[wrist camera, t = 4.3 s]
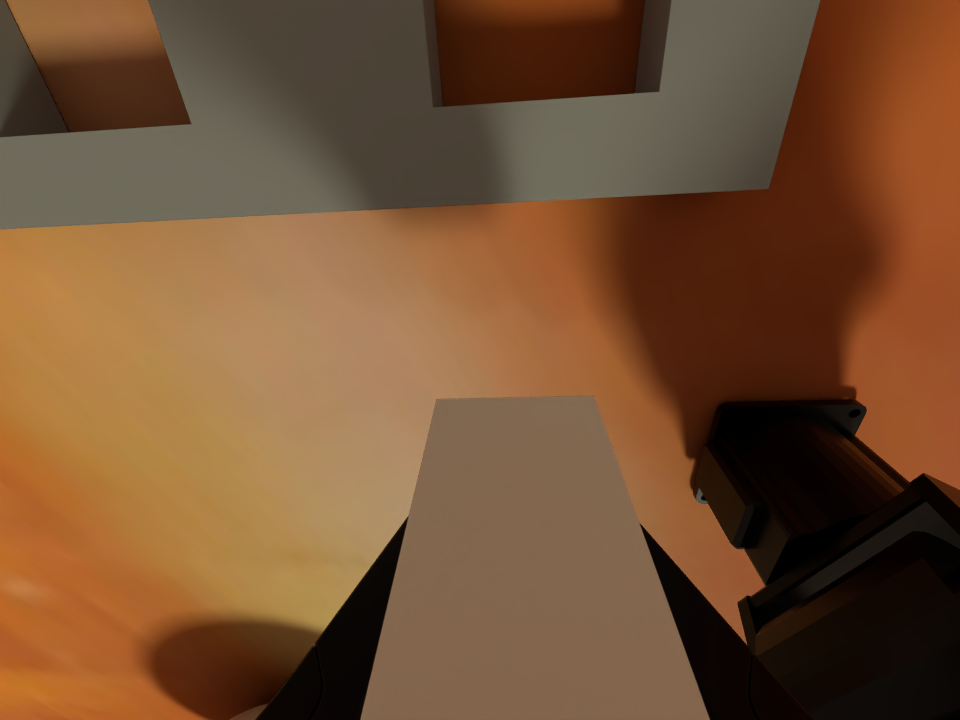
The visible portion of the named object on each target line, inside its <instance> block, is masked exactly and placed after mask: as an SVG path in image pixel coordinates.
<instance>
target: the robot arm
mask: <svg viewBox="0 0 960 720" xmlns="http://www.w3.org/2000/svg"><path fill="white" fill-rule="evenodd" d="M731 411H732V412H731ZM866 411H867V409H866V407H865V406H863V405H862V404H861V403H859V402H858V401H857V400H808V401H753V402H726V403H724V404H721V405H720V406H719V407H718V408H717V410H716V414H715V417H714V421H713V424H712V428H711V431H710V435H709V438H708V441H707V442H706V444H705V445H704V448H703V452H702V455H701V459H700V462H699V466H698V469H697V473H696V477H695V481H696V484H695V487H694V491H693V495H694V497H695V499H696V500H697V502H699V503H701V504H709V506H710V508H711V509H712V511H713V513H714V515H715V517H716V518H717V520H718V522H719V524H720V526H721V527H722V529H723V531H724V533H725V534H726V536H727V538H728V540H729V542H730V543H731V544H732V545H733V546H734V547H735V548H736V549H744V550H745V552H746V553H747V555H748V557H749V559H750V560H751V562H752V564H753V565H754V567H755V569H756V571H757V572H758V574H759V576H760V577H761V579H762V581H763V583H764V584H765V587H764V588H762V589H761V590H759V591H758V592H756V593H755V594H754V595H752V596H746V597H745V598H743V599H742V600H740V601H739V602H738V608H739V612H740V616H741V620H742V624H743V629H744V633H745V637H746V641H747V644H746V643H745V642H744V641H743V640H742V639H741V638H740V637H739V635H738V634H737V633H736V632H735V631H734V630H733V629H732V627H731V626H730V625H729V624H728V623H727V622H726V621H725V619H724V618H723V617H722V616H721V615H720V614H719V613H718V611H717V610H716V609H715V608H714V607H713V606H712V605H711V604H710V602H709V601H708V600H707V599H706V598H705V597H704V596H703V594H702V593H701V592H700V591H699V590H698V589H697V588H696V586H695V585H694V584H693V583H692V582H691V581H690V580H689V579H688V577H687V576H686V575H685V574H684V573H683V572H682V571H681V569H680V568H679V567H678V566H677V565H676V564H675V563H674V561H673V560H672V559H671V558H670V557H669V556H668V555H667V553H666V552H665V551H664V550H663V549H662V548H661V547H660V546H659V544H658V543H657V542H656V541H655V540H654V539H653V538H652V536H651V535H650V534H649V533H648V532H647V531H646V530H645V528H644V527H643V526H642V525H641V524H640V523H639V524H640V526H641V529H642V532H643V535H644V537H645V540H646V543H647V546H648V549H649V551H650V554H651V557H652V560H653V563H654V565H655V568H656V571H657V574H658V576H659V579H660V582H661V585H662V588H663V590H664V593H665V596H666V599H667V602H668V604H669V607H670V610H671V613H672V616H673V618H674V621H675V624H676V627H677V629H678V632H679V635H680V638H681V641H682V643H683V646H684V649H685V652H686V655H687V657H688V660H689V663H690V666H691V669H692V671H693V674H694V677H695V680H696V682H697V685H698V688H699V691H700V694H701V696H702V699H703V702H704V705H705V708H706V710H707V713H708V716H709V719H710V720H960V490H958V489H956V488H954V487H952V486H950V485H948V484H946V483H944V482H942V481H940V480H938V479H935V478H933V477H931V476H929V475H927V474H925V473H923V474H921V475H920V476H918V477H917V478H915V479H914V480H913V481H911V482H909V481H907V480H906V479H905V478H904V477H903V476H901V475H900V474H899V473H898V472H897V471H896V470H894V469H893V468H892V467H891V466H890V465H889V464H887V463H886V462H885V461H884V460H883V459H882V458H880V457H879V456H878V455H877V454H876V453H874V452H873V451H872V450H871V449H870V448H869V447H867V446H866V445H865V444H864V443H863V442H862V441H860V440H859V439H858V438H857V437H856V436H855V434H856V432H857V430H858V428H859V426H860V424H861V422H862V420H863V418H864V416H865V414H866ZM728 412H731V413H730V414H727V413H728ZM726 414H727V415H726ZM408 517H409V516H408ZM408 517H407V518H406V520H405V521H404V523H403V524H402V525H401V527H400V528H399V529H398V531H397V532H396V533H395V535H394V536H393V537H392V539H391V540H390V542H389V543H388V544H387V546H386V547H385V548H384V550H383V551H382V552H381V554H380V555H379V557H378V558H377V559H376V561H375V562H374V563H373V565H372V566H371V567H370V569H369V570H368V572H367V573H366V574H365V576H364V577H363V578H362V580H361V581H360V582H359V584H358V585H357V586H356V588H355V589H354V591H353V592H352V593H351V595H350V596H349V597H348V599H347V600H346V601H345V603H344V604H343V606H342V607H341V608H340V610H339V611H338V612H337V614H336V615H335V616H334V618H333V619H332V621H331V622H330V623H329V625H328V626H327V627H326V629H325V630H324V631H323V633H322V634H321V635H320V637H319V638H318V640H317V641H316V643H315V646H316V647H315V646H312V647H311V649H310V650H309V652H308V653H307V654H306V656H305V657H304V658H303V660H302V661H301V663H300V664H299V665H298V667H297V668H296V669H295V670H294V672H293V673H292V674H291V676H290V677H289V678H288V680H287V681H286V682H285V683H284V685H283V686H282V687H281V689H280V690H279V691H278V693H277V694H276V695H275V696H274V697H273V699H272V700H271V701H270V702H269V703H268V705H267V706H266V707H265V708H264V709H263V710H262V712H261V713H260V714H259V715H258V716H257V718H256V719H255V720H360V719H361V715H362V711H363V706H364V702H365V698H366V694H367V690H368V685H369V681H370V677H371V673H372V669H373V664H374V660H375V656H376V652H377V648H378V643H379V639H380V635H381V631H382V626H383V622H384V618H385V614H386V610H387V605H388V601H389V597H390V593H391V589H392V584H393V580H394V576H395V572H396V568H397V563H398V559H399V555H400V551H401V547H402V542H403V538H404V534H405V530H406V525H407V521H408ZM747 645H748V646H747Z"/></svg>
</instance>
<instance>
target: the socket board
mask: <svg viewBox="0 0 960 720" xmlns="http://www.w3.org/2000/svg"><path fill="white" fill-rule="evenodd" d="M148 1H149V4H150V7H151V10H152V13H153V15H154V18H155V21H156V24H157V27H158V30H159V33H160V35H161V38H162V41H163V44H164V47H165V50H166V53H167V55H168V58H169V61H170V64H171V67H172V70H173V72H174V75H175V78H176V81H177V84H178V87H179V90H180V92H181V95H182V98H183V101H184V104H185V107H186V110H187V112H188V115H189V118H190V121H191V124H187V125H173V126H158V127H144V128H129V129H115V130H100V131H86V132H71V133H69V131H68V129H67V127H66V125H65V123H64V121H63V119H62V117H61V115H60V113H59V111H58V109H57V107H56V105H55V102H54V100H53V98H52V96H51V94H50V92H49V90H48V88H47V86H46V84H45V82H44V80H43V78H42V76H41V73H40V71H39V69H38V67H37V65H36V63H35V61H34V59H33V57H32V55H31V53H30V51H29V49H28V47H27V45H26V42H25V40H24V38H23V36H22V34H21V32H20V30H19V28H18V26H17V24H16V22H15V20H14V18H13V16H12V13H11V11H10V9H9V7H8V5H7V3H6V1H5V0H0V229H15V228H34V227H53V226H73V225H92V224H111V223H130V222H149V221H168V220H187V219H206V218H225V217H245V216H264V215H283V214H302V213H321V212H340V211H359V210H378V209H398V208H417V207H436V206H455V205H474V204H493V203H512V202H531V201H550V200H570V199H589V198H608V197H627V196H646V195H665V194H684V193H703V192H723V191H742V190H761V189H769V186H770V183H771V179H772V175H773V172H774V168H775V164H776V161H777V157H778V153H779V150H780V146H781V142H782V139H783V135H784V132H785V128H786V124H787V121H788V117H789V113H790V110H791V106H792V102H793V99H794V95H795V91H796V88H797V84H798V80H799V77H800V73H801V69H802V66H803V62H804V58H805V55H806V51H807V47H808V44H809V40H810V36H811V33H812V29H813V25H814V22H815V18H816V14H817V11H818V7H819V4H820V0H645V3H644V12H643V21H642V30H641V39H640V48H639V57H638V66H637V75H636V84H635V93H634V94H621V95H606V96H592V97H577V98H563V99H548V100H534V101H520V102H505V103H491V104H476V105H462V106H447V107H443V100H442V88H441V77H440V65H439V53H438V41H437V30H436V18H435V6H434V0H148Z"/></svg>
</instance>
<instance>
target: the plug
mask: <svg viewBox="0 0 960 720" xmlns="http://www.w3.org/2000/svg"><path fill="white" fill-rule="evenodd" d="M360 720H710V719H709V716H708V713H707V710H706V708H705V705H704V702H703V699H702V696H701V694H700V691H699V688H698V685H697V682H696V680H695V677H694V674H693V671H692V669H691V666H690V663H689V660H688V657H687V655H686V652H685V649H684V646H683V643H682V641H681V638H680V635H679V632H678V629H677V627H676V624H675V621H674V618H673V616H672V613H671V610H670V607H669V604H668V602H667V599H666V596H665V593H664V590H663V588H662V585H661V582H660V579H659V576H658V574H657V571H656V568H655V565H654V563H653V560H652V557H651V554H650V551H649V549H648V546H647V543H646V540H645V537H644V535H643V532H642V529H641V526H640V524H639V521H638V518H637V515H636V512H635V510H634V507H633V504H632V501H631V498H630V496H629V493H628V490H627V487H626V484H625V482H624V479H623V476H622V473H621V471H620V468H619V465H618V462H617V459H616V457H615V454H614V451H613V448H612V445H611V443H610V440H609V437H608V434H607V431H606V429H605V426H604V423H603V420H602V418H601V415H600V412H599V409H598V406H597V404H596V401H595V398H594V396H553V397H506V398H459V399H436V403H435V408H434V412H433V416H432V420H431V425H430V429H429V433H428V437H427V441H426V446H425V450H424V454H423V458H422V462H421V467H420V471H419V475H418V479H417V483H416V488H415V492H414V496H413V500H412V504H411V509H410V513H409V517H408V521H407V525H406V530H405V534H404V538H403V542H402V547H401V551H400V555H399V559H398V563H397V568H396V572H395V576H394V580H393V584H392V589H391V593H390V597H389V601H388V605H387V610H386V614H385V618H384V622H383V626H382V631H381V635H380V639H379V643H378V648H377V652H376V656H375V660H374V664H373V669H372V673H371V677H370V681H369V685H368V690H367V694H366V698H365V702H364V706H363V711H362V715H361V719H360Z"/></svg>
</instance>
